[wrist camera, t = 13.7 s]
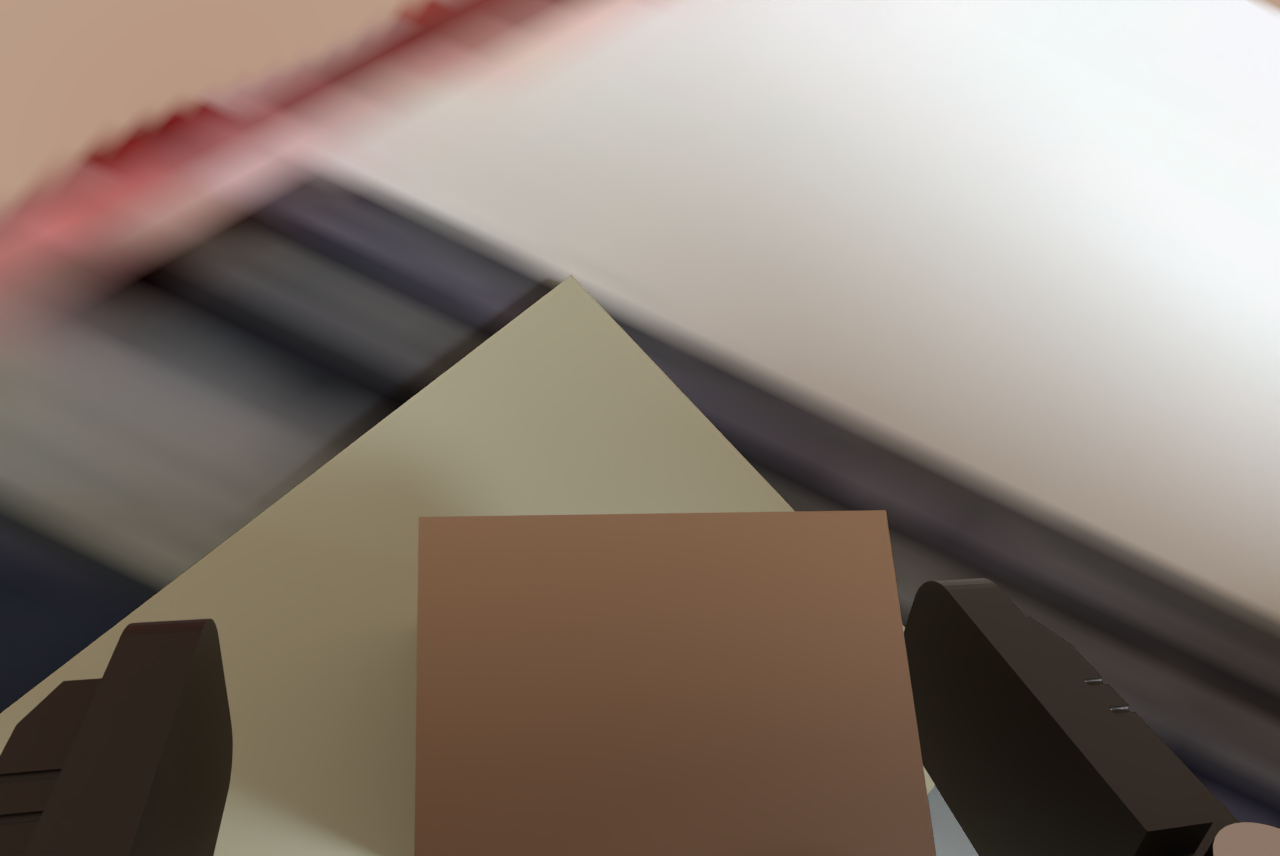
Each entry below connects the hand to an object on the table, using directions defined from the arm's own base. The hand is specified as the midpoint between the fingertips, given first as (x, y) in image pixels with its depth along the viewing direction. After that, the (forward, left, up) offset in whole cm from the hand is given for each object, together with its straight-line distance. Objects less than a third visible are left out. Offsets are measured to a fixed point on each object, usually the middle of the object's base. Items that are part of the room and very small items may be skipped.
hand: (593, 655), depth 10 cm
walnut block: (+1, +1, -6) cm, 6 cm away
